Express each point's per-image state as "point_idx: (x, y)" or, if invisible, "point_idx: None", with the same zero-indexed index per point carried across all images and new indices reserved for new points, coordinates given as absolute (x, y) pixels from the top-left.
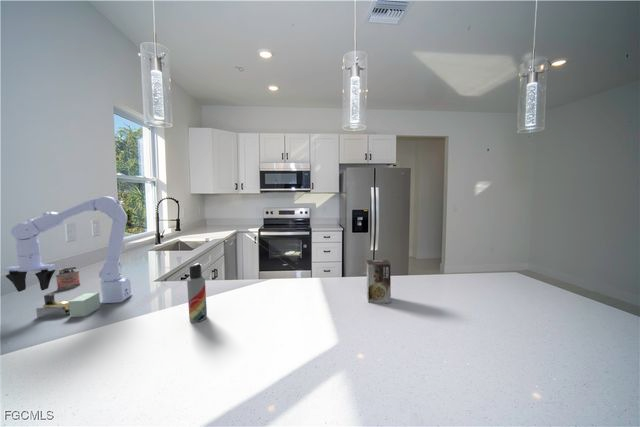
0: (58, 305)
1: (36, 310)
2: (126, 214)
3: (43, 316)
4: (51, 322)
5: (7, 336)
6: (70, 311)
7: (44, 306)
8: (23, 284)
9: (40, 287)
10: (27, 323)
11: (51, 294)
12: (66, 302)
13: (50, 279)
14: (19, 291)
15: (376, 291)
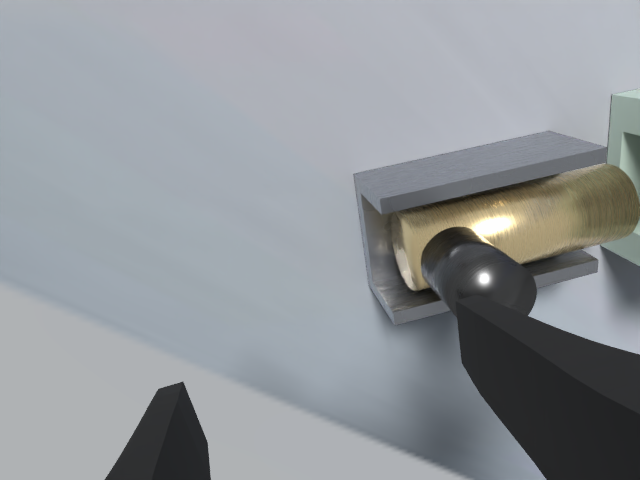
0: (540, 258)
1: (390, 316)
2: None
3: None
4: (535, 317)
5: (438, 460)
6: (637, 262)
7: (428, 286)
8: (179, 461)
9: (484, 399)
10: (389, 352)
11: (512, 285)
12: (598, 230)
13: (588, 341)
14: (205, 446)
15: None
